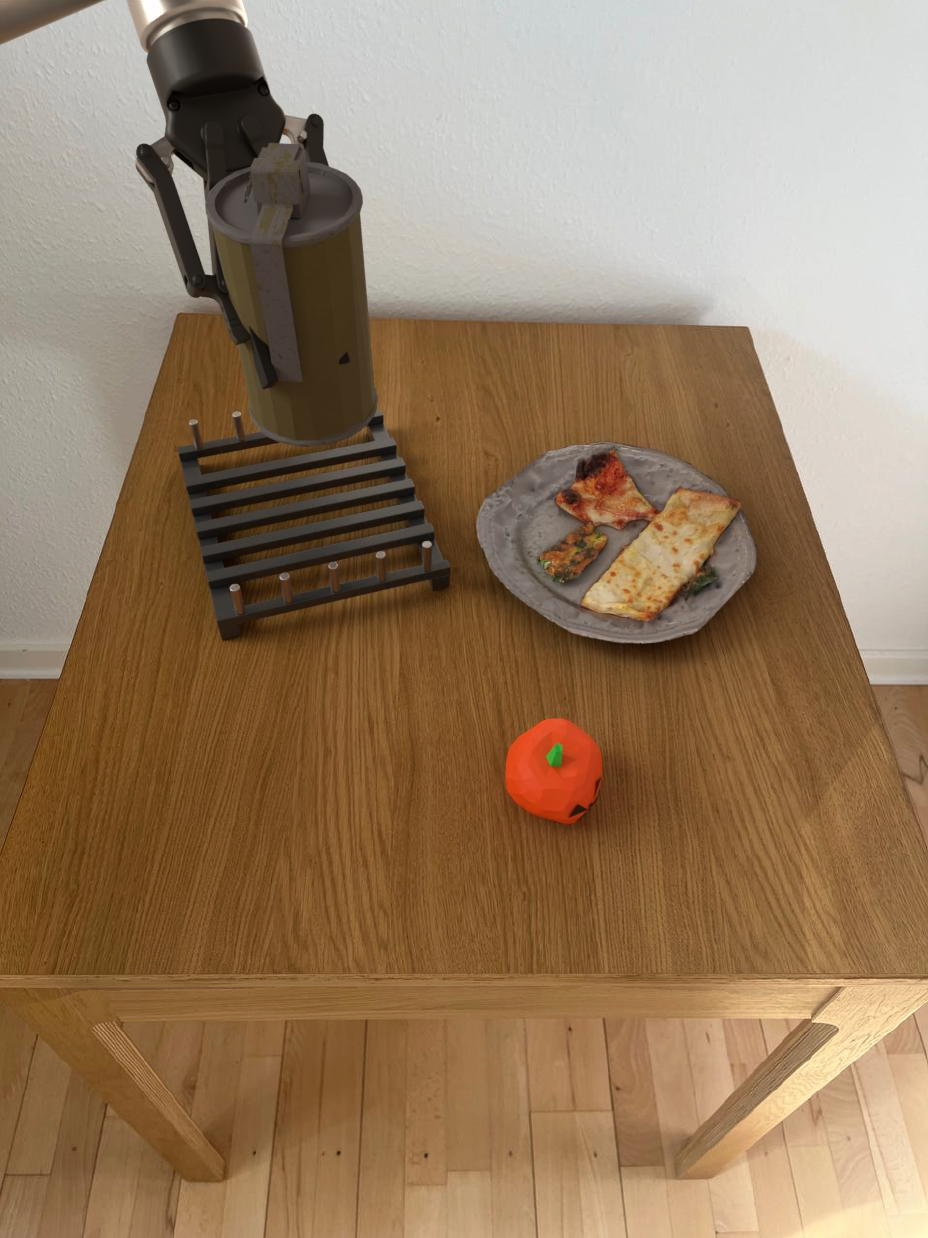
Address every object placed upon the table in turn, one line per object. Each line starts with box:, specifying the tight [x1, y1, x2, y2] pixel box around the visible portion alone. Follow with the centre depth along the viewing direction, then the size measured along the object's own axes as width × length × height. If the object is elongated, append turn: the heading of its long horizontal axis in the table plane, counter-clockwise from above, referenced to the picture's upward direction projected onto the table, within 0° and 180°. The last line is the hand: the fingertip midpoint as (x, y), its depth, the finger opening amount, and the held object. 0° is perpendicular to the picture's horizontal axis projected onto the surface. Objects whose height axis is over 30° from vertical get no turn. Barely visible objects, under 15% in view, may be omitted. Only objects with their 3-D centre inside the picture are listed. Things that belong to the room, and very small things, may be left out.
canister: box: [204, 142, 379, 448], centre depth 68 cm, size 11×10×20 cm
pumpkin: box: [505, 717, 603, 825], centre depth 68 cm, size 7×8×6 cm
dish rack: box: [176, 409, 451, 641], centre depth 85 cm, size 20×22×6 cm
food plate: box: [475, 440, 758, 645], centre depth 85 cm, size 25×23×4 cm
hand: (306, 374), depth 69 cm, fingers closed on canister, 5 cm apart
